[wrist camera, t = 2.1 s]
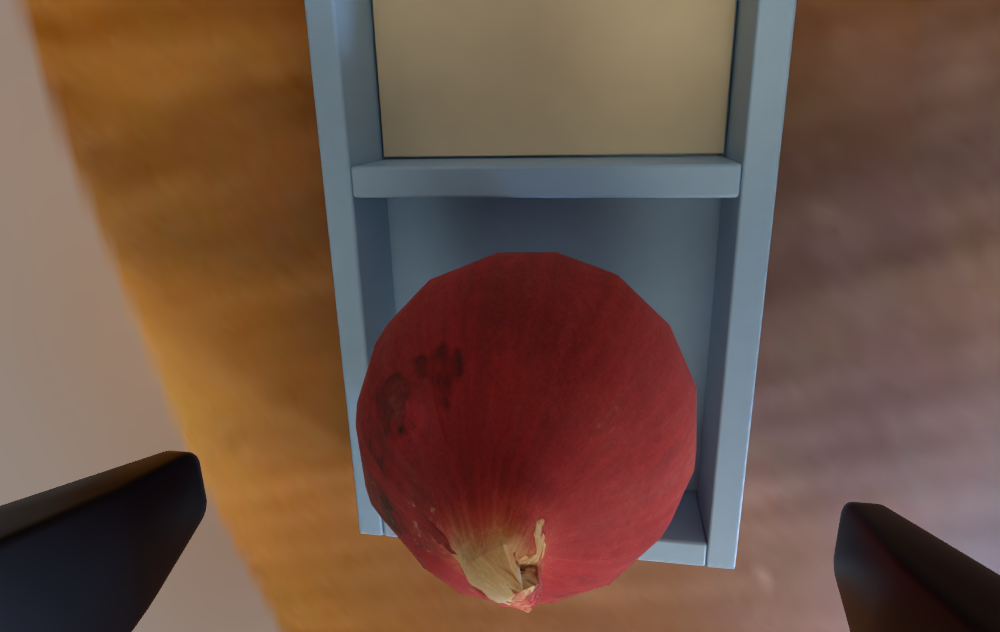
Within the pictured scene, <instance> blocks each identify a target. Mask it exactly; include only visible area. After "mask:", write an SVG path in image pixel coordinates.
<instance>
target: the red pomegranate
mask: <svg viewBox="0 0 1000 632" xmlns="http://www.w3.org/2000/svg"><path fill="white" fill-rule="evenodd" d="M356 431H357V437H358V444H359V450H360V456H361V462H362V468H363V474H364V480H365V487H366V490H367V493H368V496H369V499H370V502H371V505H372V506H373V507H374V509H375V510H376V511H377V513H378V514H379V515H380V517H381V518H382V519H383V520H384V522H385V523H386V524H387V525H388V526H389V527H390V528H391V530H392V531H393V532H394V533H395V534H396V535H397V536H398V538H399V539H400V540H401V541H402V542H403V543H404V544H405V546H406V547H407V548H408V549H409V550H410V551H411V552H412V554H413V555H414V556H415V557H416V559H417V560H418V561H419V562H420V564H421V565H422V566H423V568H425V569H426V570H428V571H429V572H431V573H432V574H434V575H435V576H436V577H438V578H439V579H441V580H442V581H444V582H445V583H447V584H448V585H450V586H451V587H453V588H454V589H455V590H457V591H458V592H460V593H463V594H467V595H471V596H475V597H479V598H483V599H487V600H491V601H494V602H495V603H497V604H499V605H500V606H502V607H509V606H511V607H514V608H516V609H519V610H521V611H524V612H526V613H529V612H530V611H531V610H532V609H533V608H534V607H535V606H536V605H537V604H538V603H552V602H555V601H558V600H561V599H564V598H568V597H571V596H574V595H577V594H580V593H583V592H586V591H589V590H592V589H595V588H598V587H602V586H606V585H609V584H610V583H611V582H613V581H614V580H615V579H616V578H617V577H618V576H619V575H620V574H622V573H623V572H624V571H625V570H626V569H627V568H628V567H629V566H630V565H631V564H633V563H634V562H635V561H636V560H637V559H638V558H639V557H640V556H641V555H643V554H644V553H645V552H646V551H647V550H648V549H649V548H650V547H651V546H653V545H654V544H655V543H656V542H657V541H658V540H659V539H660V538H661V537H662V535H663V534H664V532H665V530H666V529H667V527H668V526H669V524H670V523H671V520H672V518H673V516H674V514H675V512H676V509H677V507H678V505H679V503H680V500H681V498H682V496H683V494H684V492H685V489H686V487H687V485H688V483H689V480H690V478H691V476H692V474H693V472H694V466H695V457H696V385H695V383H694V380H693V378H692V376H691V373H690V371H689V369H688V366H687V364H686V362H685V359H684V357H683V355H682V352H681V350H680V348H679V345H678V343H677V341H676V338H675V336H674V334H673V331H672V329H671V327H670V325H669V324H668V323H667V322H666V321H665V320H664V319H663V318H662V317H661V316H660V315H659V314H658V313H657V312H656V311H655V310H654V309H653V308H652V307H651V306H650V305H649V304H648V303H646V302H645V301H644V300H643V299H642V298H641V297H640V296H639V295H638V294H637V293H636V292H635V291H634V290H633V289H632V288H631V287H630V286H629V285H628V284H627V283H626V282H625V281H624V280H623V279H622V278H621V277H619V276H618V275H617V274H615V273H612V272H610V271H607V270H604V269H601V268H599V267H596V266H593V265H591V264H588V263H585V262H582V261H580V260H577V259H574V258H572V257H569V256H566V255H563V254H561V253H558V252H498V253H496V254H493V255H490V256H488V257H485V258H483V259H480V260H478V261H475V262H473V263H470V264H468V265H465V266H463V267H460V268H458V269H455V270H453V271H450V272H448V273H445V274H443V275H440V276H438V277H435V278H433V279H430V280H429V281H428V282H427V283H426V284H425V285H424V286H423V287H422V288H421V289H420V290H419V291H418V292H417V293H416V294H415V295H414V296H413V297H412V299H411V300H410V301H409V302H408V303H407V304H406V305H405V306H404V307H403V308H402V309H401V310H400V311H399V312H398V313H397V314H396V315H395V316H394V317H393V318H392V320H391V321H390V322H389V323H388V324H387V325H386V327H385V329H384V330H383V332H382V333H381V335H380V337H379V338H378V340H377V341H376V343H375V346H374V350H373V353H372V356H371V359H370V363H369V366H368V369H367V372H366V375H365V379H364V382H363V385H362V388H361V392H360V395H359V398H358V401H357V409H356Z"/></svg>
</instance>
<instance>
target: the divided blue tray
mask: <svg viewBox="0 0 1000 632" xmlns="http://www.w3.org/2000/svg"><path fill="white" fill-rule="evenodd" d="M304 3H305V13H306V22H307V32H308V42H309V51H310V61H311V70H312V80H313V89H314V99H315V108H316V118H317V128H318V137H319V147H320V156H321V166H322V175H323V185H324V194H325V204H326V213H327V223H328V233H329V242H330V252H331V261H332V271H333V280H334V290H335V299H336V309H337V319H338V328H339V338H340V347H341V357H342V366H343V376H344V385H345V395H346V405H347V414H348V424H349V433H350V443H351V452H352V462H353V471H354V481H355V490H356V500H357V510H358V519H359V529H360V533H362V534H372V535H383V534H385V535H386V536H392V537H398V536H397V535H396V534H395V533H394V532H393V531H392V530H391V528H390V527H389V526H388V525H387V524H386V523H385V522H384V520H383V519H382V518H381V517H380V515H379V514H378V513H377V511H376V510H375V509H374V507H373V506H372V505H371V502H370V499H369V496H368V493H367V490H366V487H365V480H364V474H363V468H362V462H361V456H360V450H359V444H358V437H357V431H356V409H357V401H358V398H359V395H360V392H361V388H362V385H363V382H364V379H365V375H366V372H367V369H368V366H369V363H370V359H371V356H372V353H373V350H374V346H375V343H376V341H377V340H378V338H379V337H380V335H381V333H382V332H383V330H384V329H385V327H386V325H387V324H388V323H389V322H390V321H391V320H392V318H393V317H394V316H395V315H396V314H397V313H398V312H399V311H400V310H401V309H402V308H403V307H404V306H405V305H406V304H407V303H408V302H409V301H410V300H411V299H412V297H413V296H414V295H415V294H416V293H417V292H418V291H419V290H420V289H421V288H422V287H423V286H424V285H425V284H426V283H427V282H428V281H429V280H430V279H433V278H435V277H438V276H440V275H443V274H445V273H448V272H450V271H453V270H455V269H458V268H460V267H463V266H465V265H468V264H470V263H473V262H475V261H478V260H480V259H483V258H485V257H488V256H490V255H493V254H496V253H498V252H558V253H561V254H563V255H566V256H569V257H572V258H574V259H577V260H580V261H582V262H585V263H588V264H591V265H593V266H596V267H599V268H601V269H604V270H607V271H610V272H612V273H615V274H617V275H618V276H619V277H621V278H622V279H623V280H624V281H625V282H626V283H627V284H628V285H629V286H630V287H631V288H632V289H633V290H634V291H635V292H636V293H637V294H638V295H639V296H640V297H641V298H642V299H643V300H644V301H645V302H646V303H648V304H649V305H650V306H651V307H652V308H653V309H654V310H655V311H656V312H657V313H658V314H659V315H660V316H661V317H662V318H663V319H664V320H665V321H666V322H667V323H668V324H669V325H670V327H671V329H672V331H673V334H674V336H675V338H676V341H677V343H678V345H679V348H680V350H681V352H682V355H683V357H684V359H685V362H686V364H687V366H688V369H689V371H690V373H691V376H692V378H693V380H694V383H695V385H696V457H695V466H694V472H693V474H692V476H691V478H690V480H689V483H688V485H687V487H686V489H685V492H684V494H683V496H682V498H681V500H680V503H679V505H678V507H677V509H676V512H675V514H674V516H673V518H672V520H671V523H670V524H669V526H668V527H667V529H666V530H665V532H664V534H663V535H662V537H661V538H660V539H659V540H658V541H657V542H656V543H655V544H654V545H653V546H651V547H650V548H649V549H648V550H647V551H646V552H645V553H644V554H643V555H641V556H640V557H639V558H638V559H637V560H646V561H656V562H667V563H677V564H688V565H699V566H704V565H705V563H706V566H708V567H716V568H726V569H734V568H735V563H736V554H737V545H738V536H739V527H740V517H741V508H742V499H743V490H744V481H745V471H746V462H747V453H748V444H749V435H750V425H751V416H752V407H753V398H754V389H755V380H756V370H757V361H758V352H759V343H760V334H761V324H762V315H763V306H764V297H765V288H766V278H767V269H768V260H769V251H770V242H771V233H772V223H773V214H774V205H775V196H776V187H777V177H778V168H779V159H780V150H781V141H782V131H783V122H784V113H785V104H786V95H787V85H788V76H789V67H790V58H791V49H792V40H793V30H794V21H795V12H796V3H797V0H304Z"/></svg>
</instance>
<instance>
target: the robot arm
mask: <svg viewBox="0 0 1000 632" xmlns="http://www.w3.org/2000/svg"><path fill="white" fill-rule="evenodd" d="M206 504H207V500H206V494H205V489H204V483H203V478H202V473H201V467H200V463H199V460H198V458H197V456H196V455H194V454H193V453H190V452H179V451H165V452H162V453H159V454H156V455H153V456H150V457H147V458H144V459H141V460H138V461H135V462H132V463H129V464H126V465H123V466H120V467H117V468H114V469H111V470H108V471H105V472H102V473H99V474H96V475H93V476H89V477H87V478H83V479H80V480H78V481H74V482H72V483H68V484H65V485H62V486H59V487H56V488H53V489H50V490H48V491H44V492H41V493H38V494H35V495H32V496H29V497H26V498H23V499H20V500H17V501H14V502H11V503H8V504H5V505H2V506H0V632H131V631H132V630H133V629H134V628H135V626H136V625H137V623H138V622H139V621H140V619H141V618H142V616H143V615H144V613H145V612H146V610H147V609H148V608H149V606H150V605H151V603H152V601H153V600H154V598H155V597H156V595H157V594H158V592H159V590H160V589H161V587H162V585H163V584H164V582H165V580H166V579H167V577H168V575H169V574H170V572H171V570H172V568H173V567H174V565H175V564H176V562H177V560H178V559H179V557H180V555H181V554H182V552H183V550H184V548H185V547H186V545H187V544H188V542H189V540H190V539H191V537H192V535H193V534H194V532H195V530H196V529H197V527H198V525H199V524H200V522H201V520H202V519H203V516H204V514H205V511H206ZM834 572H835V577H836V581H837V585H838V588H839V592H840V596H841V599H842V603H843V606H844V610H845V614H846V617H847V621H848V624H849V628H850V632H1000V575H999V574H997V573H995V572H994V571H992V570H990V569H989V568H987V567H985V566H984V565H982V564H980V563H979V562H977V561H975V560H974V559H972V558H970V557H969V556H967V555H965V554H964V553H962V552H960V551H959V550H957V549H955V548H954V547H952V546H950V545H949V544H947V543H945V542H944V541H942V540H940V539H939V538H937V537H935V536H934V535H932V534H930V533H929V532H927V531H925V530H923V529H922V528H920V527H918V526H917V525H915V524H913V523H912V522H910V521H908V520H907V519H905V518H903V517H902V516H900V515H898V514H897V513H895V512H893V511H892V510H890V509H888V508H887V507H885V506H883V505H880V504H873V503H859V502H849V503H847V504H846V505H845V506H844V507H843V509H842V512H841V517H840V523H839V529H838V535H837V541H836V547H835V553H834Z"/></svg>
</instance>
